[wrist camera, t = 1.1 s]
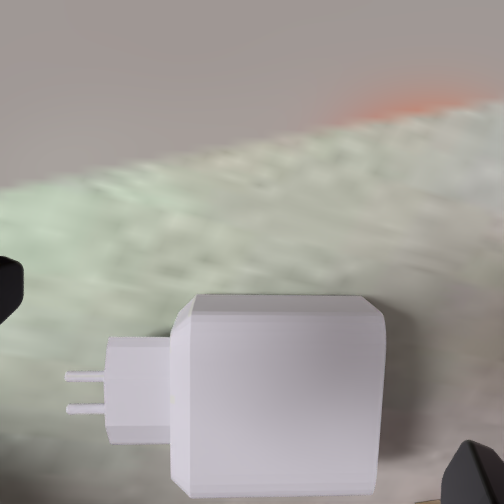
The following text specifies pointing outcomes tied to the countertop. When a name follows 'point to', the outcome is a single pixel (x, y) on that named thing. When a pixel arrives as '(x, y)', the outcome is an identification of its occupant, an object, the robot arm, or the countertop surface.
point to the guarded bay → (430, 502)
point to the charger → (253, 395)
